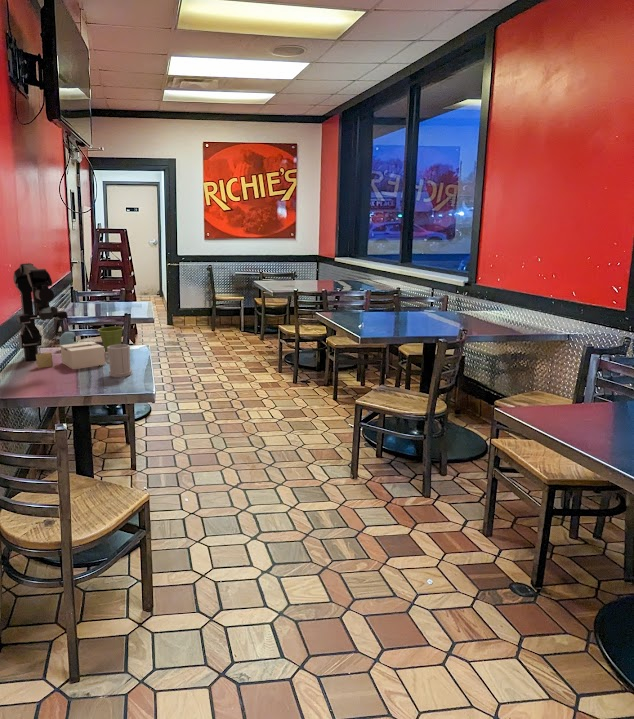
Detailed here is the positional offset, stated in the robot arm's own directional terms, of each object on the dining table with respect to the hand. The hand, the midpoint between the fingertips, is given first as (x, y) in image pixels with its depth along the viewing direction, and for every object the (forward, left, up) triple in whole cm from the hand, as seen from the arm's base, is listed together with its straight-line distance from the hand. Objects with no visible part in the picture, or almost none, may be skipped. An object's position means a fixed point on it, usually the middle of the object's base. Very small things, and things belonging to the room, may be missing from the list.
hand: (44, 337), depth 267 cm
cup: (+26, +21, -15) cm, 36 cm away
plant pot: (-21, +35, -15) cm, 44 cm away
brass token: (-9, +1, -15) cm, 17 cm away
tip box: (-4, +16, -15) cm, 22 cm away
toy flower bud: (-40, +22, -15) cm, 48 cm away
